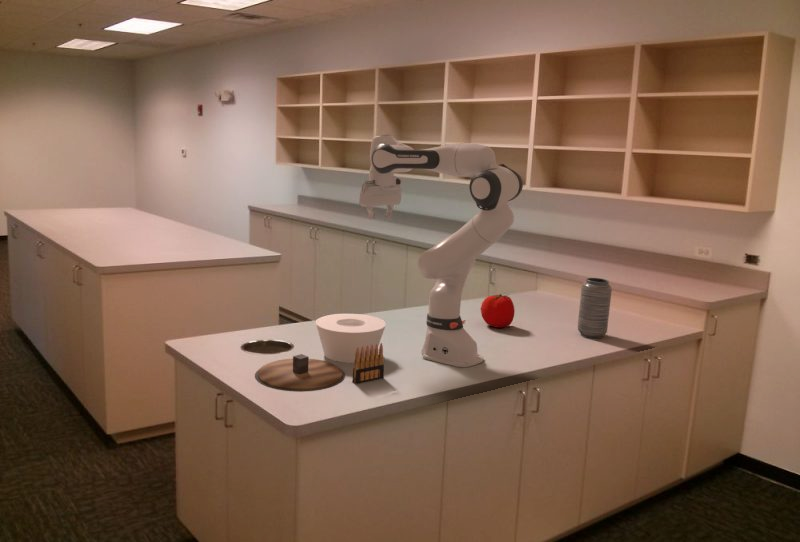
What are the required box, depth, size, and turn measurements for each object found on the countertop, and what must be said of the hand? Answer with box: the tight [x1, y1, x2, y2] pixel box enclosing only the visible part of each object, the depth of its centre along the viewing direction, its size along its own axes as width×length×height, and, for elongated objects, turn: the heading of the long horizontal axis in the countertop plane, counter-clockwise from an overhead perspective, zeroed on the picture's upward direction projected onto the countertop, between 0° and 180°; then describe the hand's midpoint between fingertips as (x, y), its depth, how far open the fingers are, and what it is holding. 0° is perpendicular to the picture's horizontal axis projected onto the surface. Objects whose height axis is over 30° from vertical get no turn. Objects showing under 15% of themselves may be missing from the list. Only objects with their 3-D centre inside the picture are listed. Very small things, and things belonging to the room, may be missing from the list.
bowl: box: [315, 313, 387, 364], centre depth 236 cm, size 24×24×12 cm
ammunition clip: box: [352, 342, 385, 385], centre depth 212 cm, size 11×2×12 cm, turn 127°
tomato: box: [480, 293, 516, 329], centre depth 283 cm, size 16×14×14 cm
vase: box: [577, 277, 613, 339], centre depth 275 cm, size 12×12×23 cm
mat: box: [254, 369, 346, 392], centre depth 215 cm, size 28×28×1 cm
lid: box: [257, 353, 343, 390], centre depth 214 cm, size 26×26×6 cm
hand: (379, 218), depth 252 cm, fingers open, 8 cm apart
